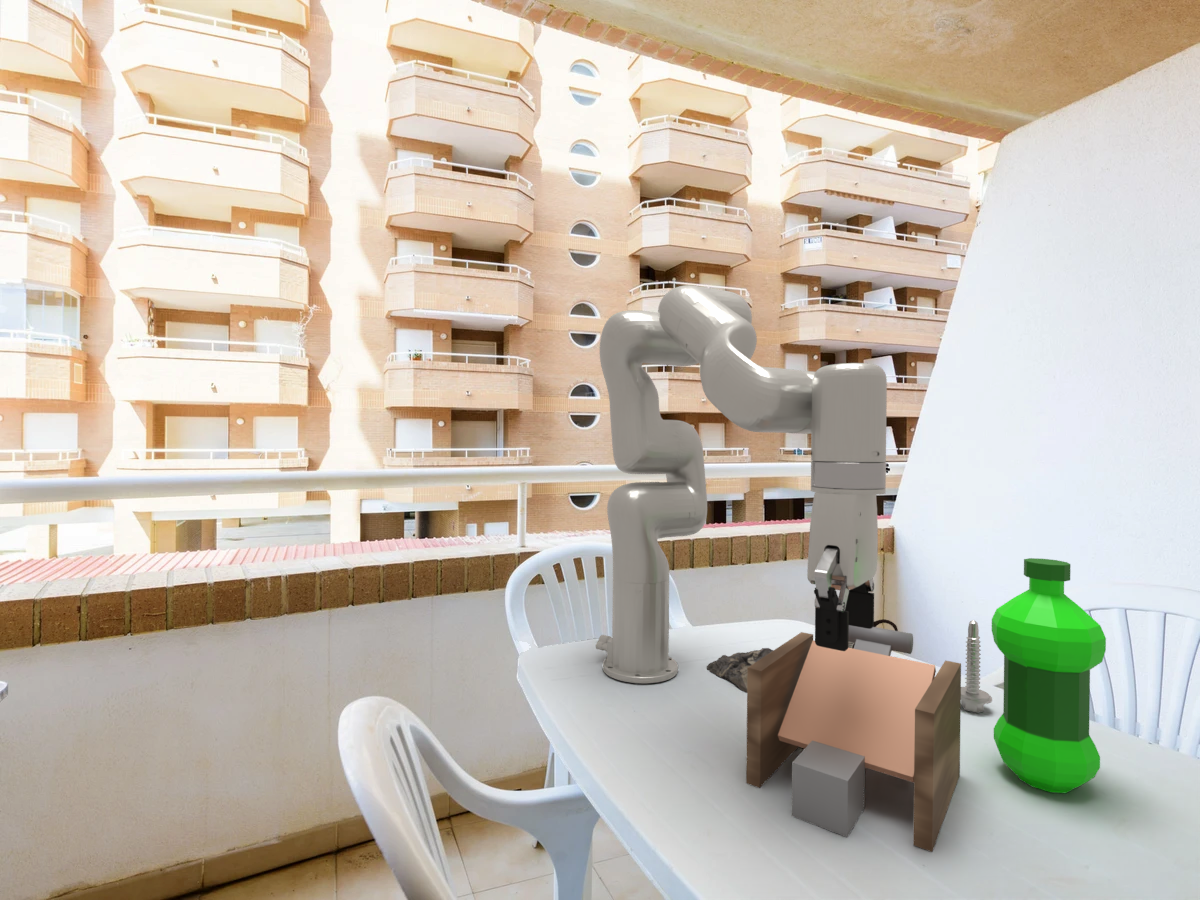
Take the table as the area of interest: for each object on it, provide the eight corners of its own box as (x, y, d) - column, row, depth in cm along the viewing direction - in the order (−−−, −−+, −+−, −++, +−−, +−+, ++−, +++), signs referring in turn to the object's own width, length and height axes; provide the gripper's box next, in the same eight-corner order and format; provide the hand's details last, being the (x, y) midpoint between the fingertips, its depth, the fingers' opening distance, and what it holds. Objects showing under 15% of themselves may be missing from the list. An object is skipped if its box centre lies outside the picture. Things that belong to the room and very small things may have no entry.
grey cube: (811, 790, 67) (791, 815, 63) (812, 740, 67) (792, 762, 63) (864, 808, 64) (847, 837, 59) (864, 756, 64) (847, 781, 59)
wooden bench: (746, 783, 69) (747, 667, 68) (800, 728, 82) (801, 632, 82) (932, 852, 57) (933, 713, 57) (959, 775, 70) (961, 663, 70)
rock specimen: (689, 677, 101) (773, 704, 91) (690, 654, 101) (773, 678, 91) (748, 651, 115) (826, 671, 105) (748, 630, 115) (826, 649, 105)
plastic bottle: (1118, 789, 68) (1121, 565, 68) (1072, 817, 63) (1076, 574, 63) (1020, 750, 77) (1022, 551, 76) (972, 771, 71) (975, 558, 71)
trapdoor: (780, 744, 70) (776, 731, 69) (823, 625, 82) (820, 613, 81) (914, 786, 62) (912, 773, 61) (941, 647, 73) (939, 634, 72)
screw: (961, 715, 87) (947, 700, 91) (998, 717, 86) (982, 703, 91) (962, 623, 86) (948, 614, 91) (999, 625, 86) (983, 616, 91)
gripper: (836, 475, 75) (835, 613, 75) (783, 480, 62) (781, 649, 62) (903, 477, 71) (901, 624, 71) (861, 484, 57) (859, 666, 57)
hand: (845, 636), depth 66 cm, fingers open, 9 cm apart
